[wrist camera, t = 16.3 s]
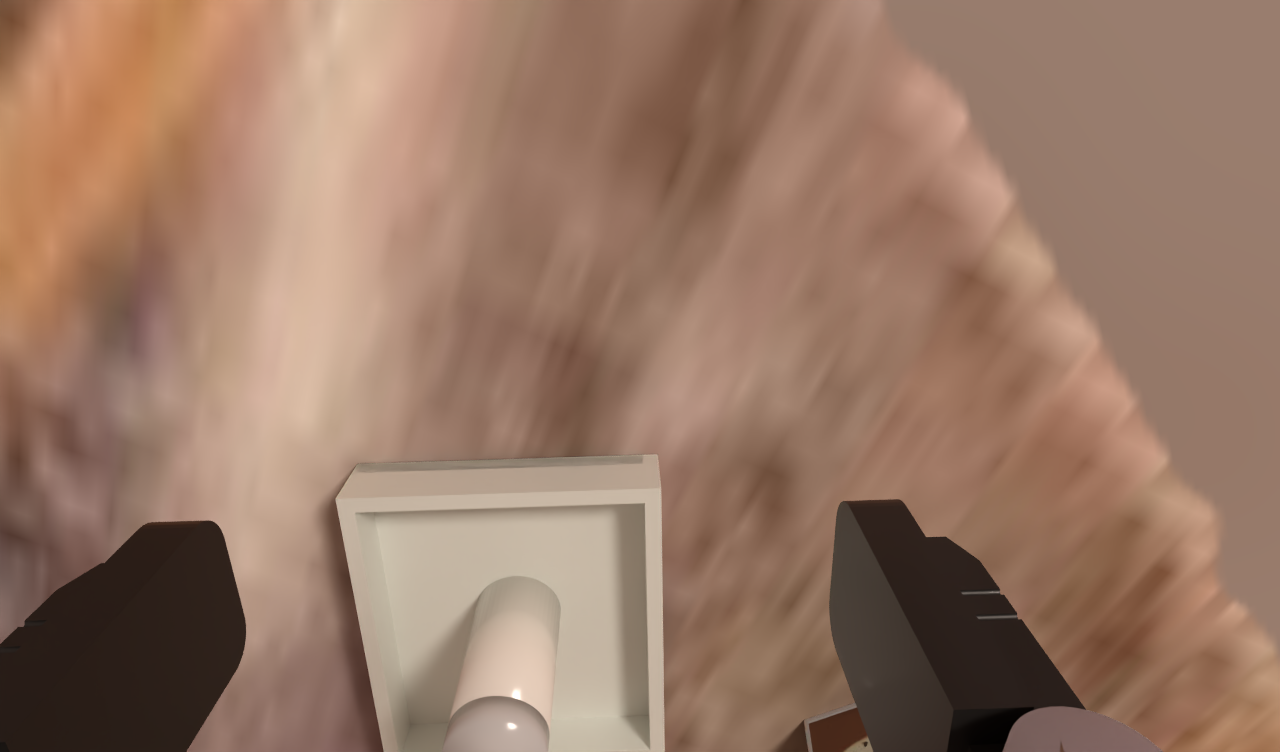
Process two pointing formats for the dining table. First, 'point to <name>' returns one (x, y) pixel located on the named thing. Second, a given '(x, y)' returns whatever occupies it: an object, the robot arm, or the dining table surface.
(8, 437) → the dining table surface
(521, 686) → the salt shaker
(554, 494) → the tray
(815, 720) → the food container
